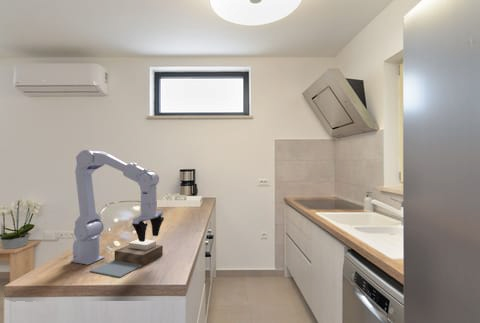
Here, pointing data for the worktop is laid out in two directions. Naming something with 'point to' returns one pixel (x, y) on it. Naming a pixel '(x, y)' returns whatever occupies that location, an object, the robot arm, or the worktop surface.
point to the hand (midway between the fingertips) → (148, 238)
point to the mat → (116, 268)
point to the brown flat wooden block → (138, 254)
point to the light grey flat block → (142, 244)
